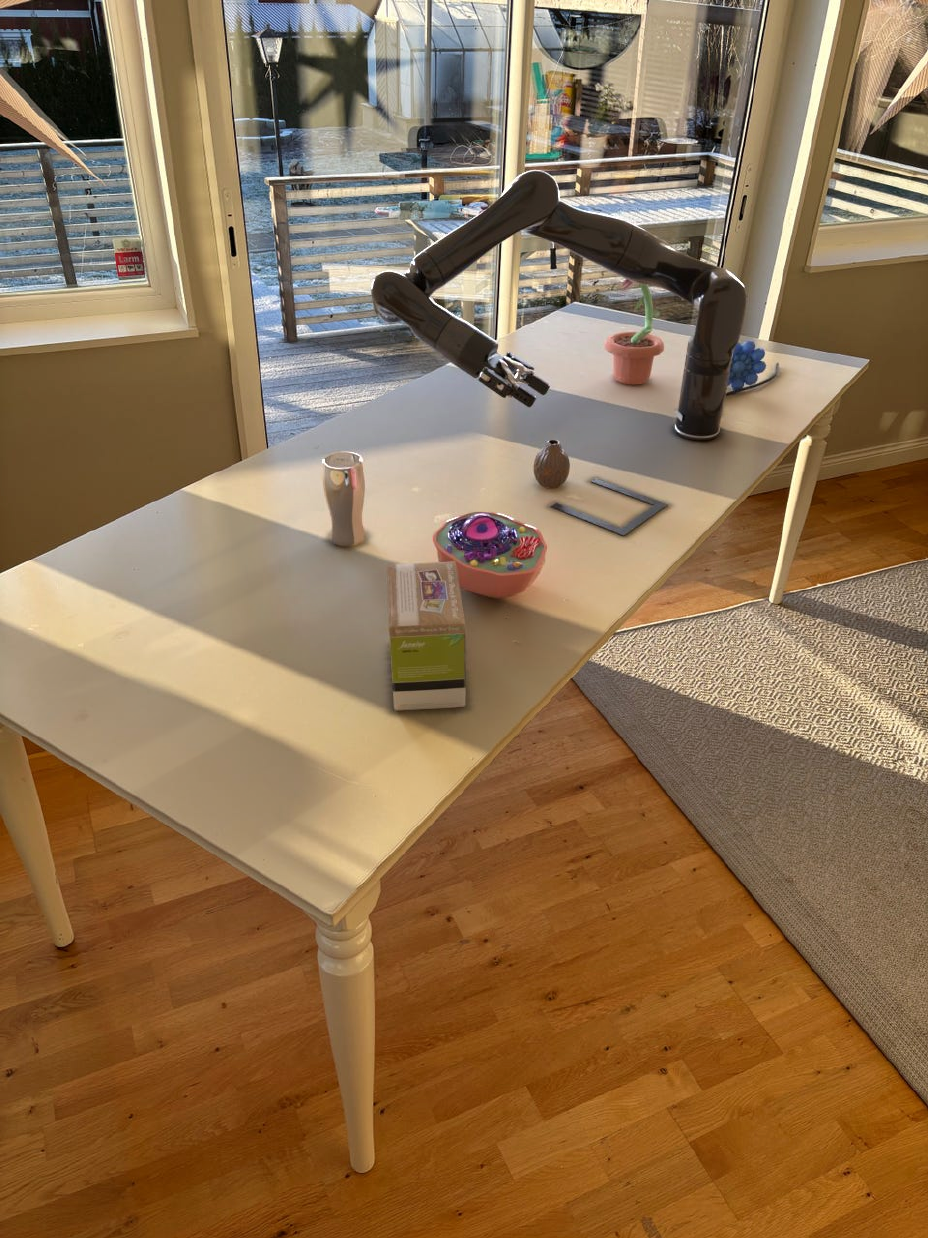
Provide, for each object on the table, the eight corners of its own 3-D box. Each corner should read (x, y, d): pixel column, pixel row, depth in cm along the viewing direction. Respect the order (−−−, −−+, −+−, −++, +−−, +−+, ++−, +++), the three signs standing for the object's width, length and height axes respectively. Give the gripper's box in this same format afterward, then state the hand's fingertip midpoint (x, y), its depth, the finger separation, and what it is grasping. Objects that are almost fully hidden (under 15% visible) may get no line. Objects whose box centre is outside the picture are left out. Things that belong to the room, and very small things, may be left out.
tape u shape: (595, 478, 181) (596, 478, 181) (667, 505, 173) (667, 504, 173) (550, 507, 172) (550, 506, 172) (623, 536, 163) (624, 535, 163)
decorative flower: (620, 363, 232) (634, 237, 214) (671, 375, 225) (689, 246, 208) (591, 381, 222) (603, 250, 204) (643, 394, 216) (660, 261, 198)
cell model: (472, 631, 140) (474, 568, 134) (416, 567, 154) (415, 507, 148) (567, 602, 147) (573, 541, 140) (505, 544, 161) (507, 485, 154)
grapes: (763, 388, 220) (774, 337, 212) (758, 398, 215) (768, 347, 208) (714, 379, 223) (723, 330, 216) (708, 389, 219) (716, 339, 211)
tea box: (390, 645, 137) (386, 560, 129) (458, 642, 138) (458, 558, 129) (392, 713, 125) (388, 624, 116) (466, 709, 126) (468, 621, 117)
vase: (566, 493, 176) (569, 451, 171) (530, 490, 177) (532, 447, 172) (570, 477, 181) (573, 435, 176) (535, 473, 183) (537, 432, 177)
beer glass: (374, 531, 164) (370, 454, 155) (358, 551, 158) (352, 472, 150) (338, 525, 166) (332, 448, 157) (321, 544, 160) (313, 465, 152)
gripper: (461, 337, 159) (539, 388, 158) (489, 321, 171) (562, 369, 170) (442, 373, 164) (518, 424, 163) (471, 356, 175) (542, 403, 174)
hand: (540, 396), depth 166 cm, fingers open, 8 cm apart
